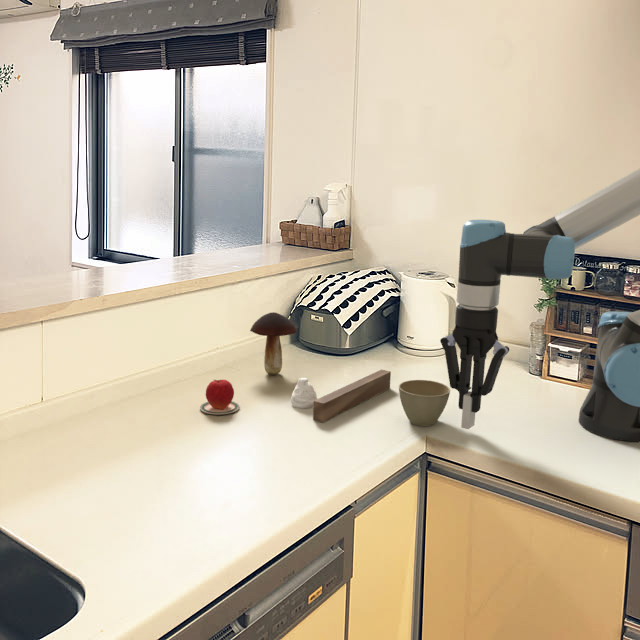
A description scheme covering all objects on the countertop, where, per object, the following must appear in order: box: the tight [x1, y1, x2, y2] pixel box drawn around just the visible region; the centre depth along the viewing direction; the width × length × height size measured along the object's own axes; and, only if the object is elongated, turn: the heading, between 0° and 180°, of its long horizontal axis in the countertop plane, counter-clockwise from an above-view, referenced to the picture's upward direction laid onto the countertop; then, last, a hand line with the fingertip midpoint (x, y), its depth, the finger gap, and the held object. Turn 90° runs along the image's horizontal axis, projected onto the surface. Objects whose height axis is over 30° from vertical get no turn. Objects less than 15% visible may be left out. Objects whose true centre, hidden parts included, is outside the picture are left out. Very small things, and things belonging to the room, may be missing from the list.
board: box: [312, 369, 392, 424], centre depth 149 cm, size 2×26×4 cm, turn 145°
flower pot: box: [398, 379, 451, 427], centre depth 139 cm, size 10×10×7 cm
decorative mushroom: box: [249, 312, 298, 376], centre depth 165 cm, size 11×11×15 cm
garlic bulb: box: [290, 377, 318, 410], centre depth 147 cm, size 6×6×5 cm
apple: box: [199, 379, 240, 415], centre depth 144 cm, size 8×8×6 cm
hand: (467, 426), depth 135 cm, fingers closed
